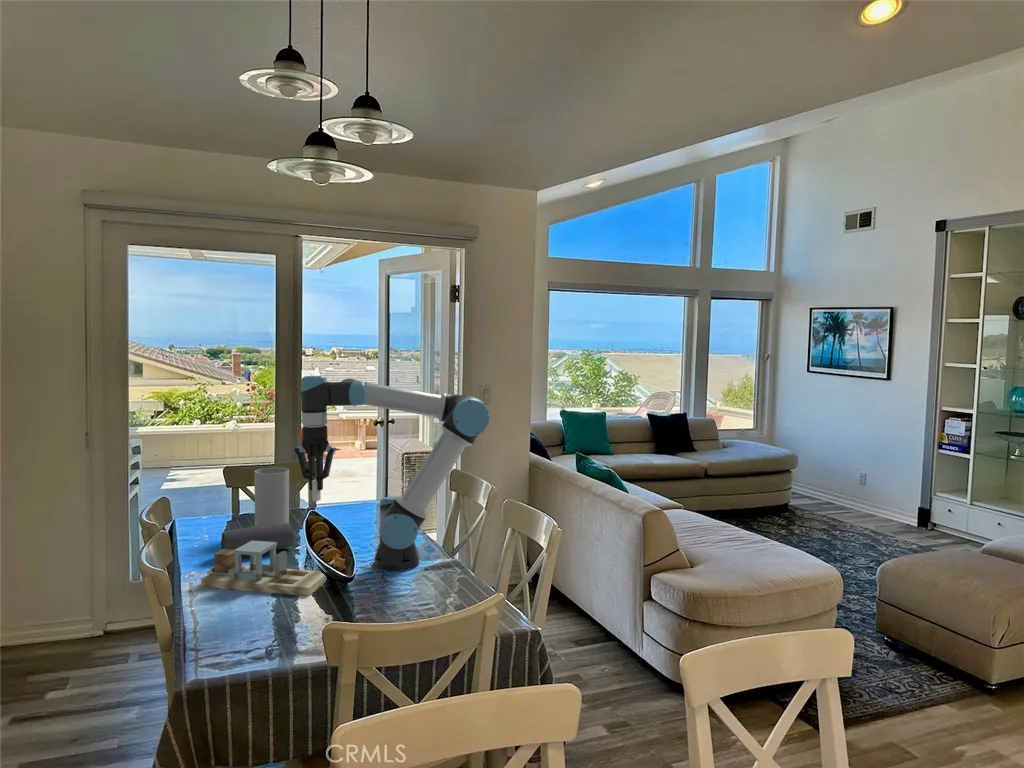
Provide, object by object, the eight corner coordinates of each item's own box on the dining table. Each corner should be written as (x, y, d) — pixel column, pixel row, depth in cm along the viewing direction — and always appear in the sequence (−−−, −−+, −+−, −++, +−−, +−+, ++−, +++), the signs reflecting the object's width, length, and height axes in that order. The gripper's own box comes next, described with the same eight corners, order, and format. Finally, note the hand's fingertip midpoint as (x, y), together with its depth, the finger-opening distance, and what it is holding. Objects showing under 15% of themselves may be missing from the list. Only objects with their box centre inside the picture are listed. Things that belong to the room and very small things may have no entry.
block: (238, 567, 213) (237, 550, 213) (229, 572, 208) (228, 555, 208) (223, 566, 214) (223, 549, 213) (214, 571, 209) (214, 553, 208)
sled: (287, 572, 211) (287, 550, 211) (277, 579, 205) (277, 557, 205) (218, 567, 215) (218, 545, 214) (206, 574, 208) (206, 551, 208)
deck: (329, 579, 213) (329, 571, 213) (309, 595, 200) (309, 587, 199) (227, 571, 219) (227, 563, 218) (201, 587, 205) (201, 578, 205)
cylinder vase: (295, 533, 263) (295, 470, 261) (268, 540, 253) (268, 475, 251) (274, 528, 270) (274, 466, 268) (247, 535, 259) (247, 471, 258)
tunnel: (277, 570, 214) (277, 542, 213) (260, 581, 204) (260, 552, 203) (252, 568, 215) (251, 540, 215) (233, 579, 205) (233, 550, 204)
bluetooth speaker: (287, 545, 248) (287, 519, 247) (294, 552, 240) (294, 525, 239) (220, 555, 235) (220, 527, 234) (225, 563, 227) (225, 534, 227)
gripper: (339, 424, 212) (341, 498, 213) (300, 423, 213) (302, 497, 215) (330, 427, 204) (331, 504, 206) (289, 426, 206) (291, 502, 207)
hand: (316, 500), depth 210 cm, fingers closed
